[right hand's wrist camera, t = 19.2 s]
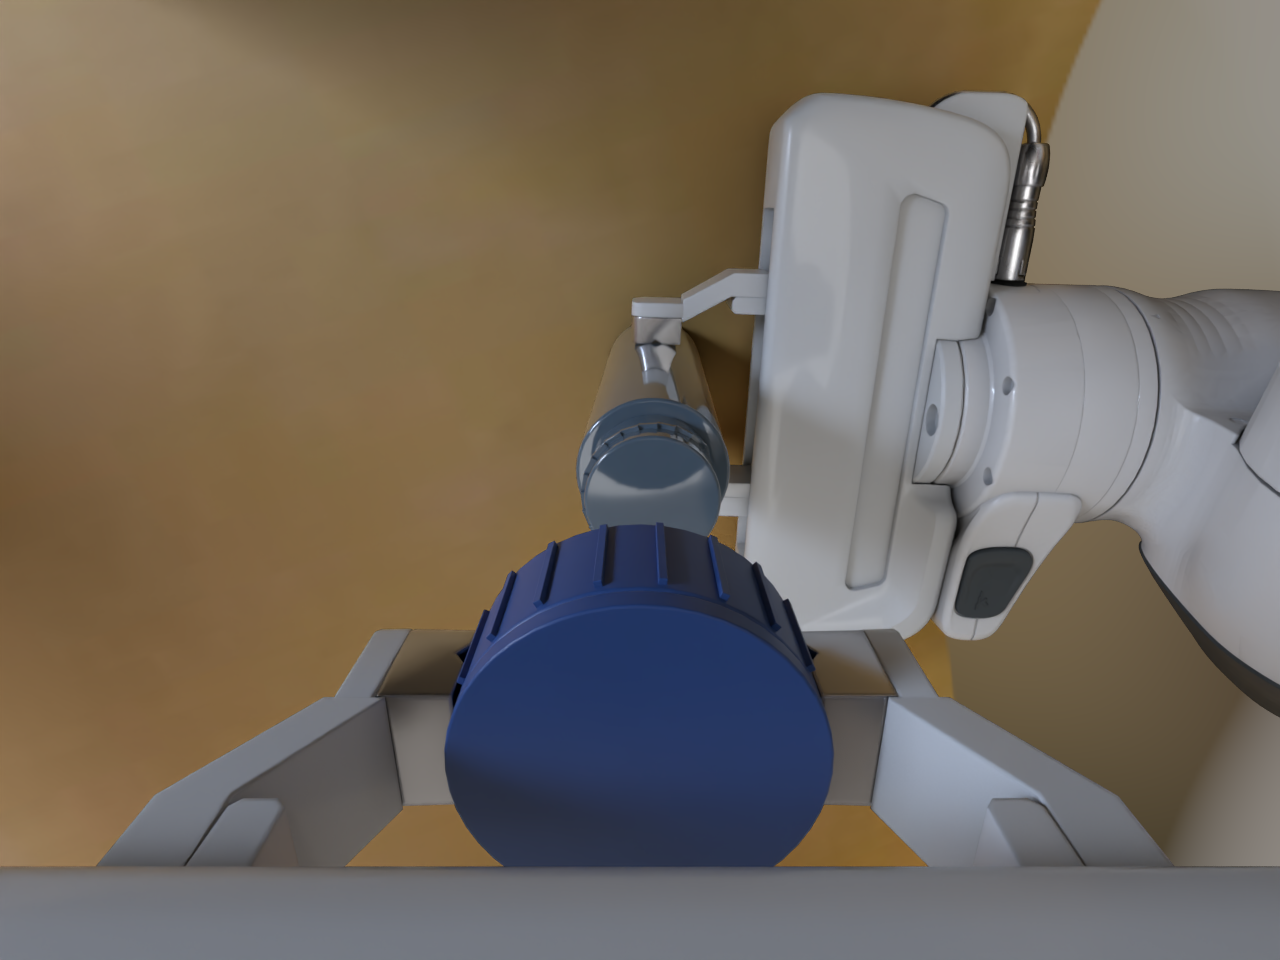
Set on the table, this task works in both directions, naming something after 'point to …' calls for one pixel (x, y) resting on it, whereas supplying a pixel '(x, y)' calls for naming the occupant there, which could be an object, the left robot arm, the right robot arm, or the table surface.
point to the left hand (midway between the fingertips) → (630, 393)
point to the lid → (638, 710)
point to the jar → (653, 441)
